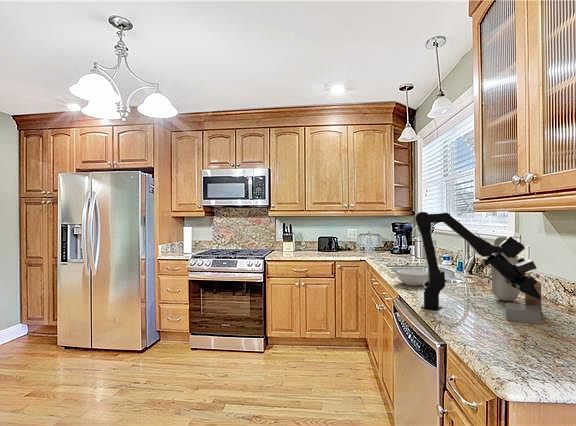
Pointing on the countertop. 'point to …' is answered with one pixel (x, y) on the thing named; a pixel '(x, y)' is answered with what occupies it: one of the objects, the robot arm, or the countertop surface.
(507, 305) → the slate block
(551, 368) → the countertop surface
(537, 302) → the pepper mill
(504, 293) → the grey bottle
